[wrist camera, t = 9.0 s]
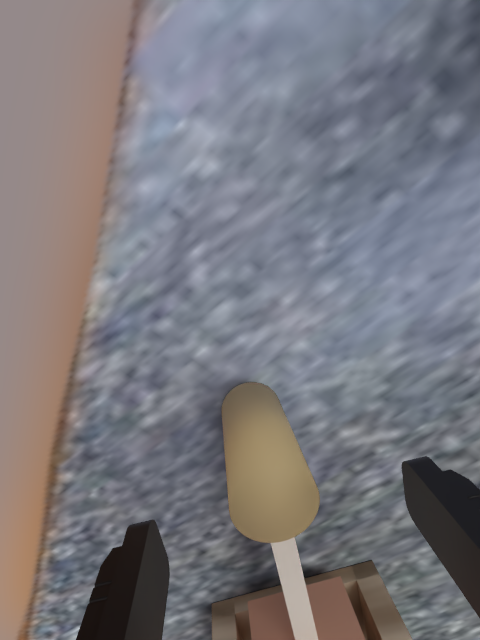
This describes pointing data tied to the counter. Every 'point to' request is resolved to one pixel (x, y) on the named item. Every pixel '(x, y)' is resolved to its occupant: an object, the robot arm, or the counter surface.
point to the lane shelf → (359, 580)
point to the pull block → (279, 518)
